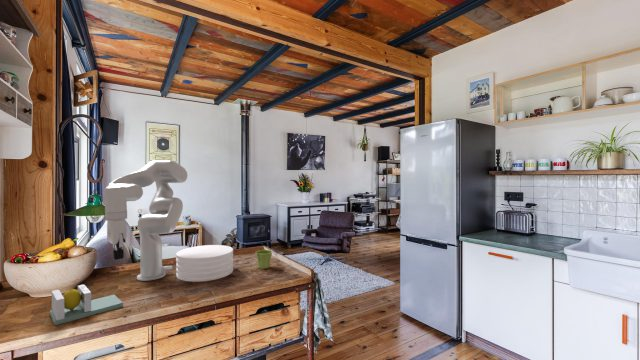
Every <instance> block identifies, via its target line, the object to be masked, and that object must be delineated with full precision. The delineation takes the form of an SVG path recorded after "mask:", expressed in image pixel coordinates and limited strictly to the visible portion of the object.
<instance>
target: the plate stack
mask: <svg viewBox="0 0 640 360" xmlns="http://www.w3.org/2000/svg"><path fill="white" fill-rule="evenodd" d="M175 255H176V258H175V261H176V262H175V264H176V265H175V266H176V268H175V270H176V273H175V274H176V275H175V277H176V279H178V280H180V281H184V282H207V281H213V280H218V279H221V278H225V277H227V276H229V275H231V274H232V273H233V271H234V247H231V246H229V245H223V244H207V245H206V244H205V245H197V246H191V247H186V248H184V249H180V250H179V251H177V252H176V254H175Z"/></svg>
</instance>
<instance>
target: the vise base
mask: <svg viewBox="0 0 640 360" xmlns="http://www.w3.org/2000/svg"><path fill="white" fill-rule="evenodd" d="M123 307H124V302H123V301H122V300H121V299H120V298H118V296H117V295H115V294H111V295H106V296H102V297H99V298H94V299H91V311H87V312H84V311H83V309H82V308H81V307H80V305H78V306H77V307H76V308H74V309H73V310H69V309H65V308H64V297H63V294H62V292H61V291H60V289H54V290H51V309H50V310H49V315H50V318H51V320H52V322H53V324H54V326H58V325H61V324H64V323H68V322H72V321H76V320H79V319H83V318H86V316H87V317H91V316H93V315H96V314H97V313H98V314H102V313H104V312H109V311H112V310H116V309H120V308H123ZM108 310H109V311H108ZM90 315H91V316H90Z"/></svg>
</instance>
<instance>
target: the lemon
mask: <svg viewBox="0 0 640 360" xmlns="http://www.w3.org/2000/svg"><path fill="white" fill-rule="evenodd" d="M62 296H63V297H64V308H65V309H69V310H73V309H74V308H76V307H77V306H78V305H79V304H80V302H81V294H80V292H79V291H78V289H75V288H70V289H68V290H66V291H65V292H64V293H63V294H62Z"/></svg>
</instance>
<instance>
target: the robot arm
mask: <svg viewBox="0 0 640 360" xmlns="http://www.w3.org/2000/svg"><path fill="white" fill-rule="evenodd" d="M187 179H188V171H187V170H186V168H184V166H182V165H181V164H179V163H177V162H176V161H173V160H170V159H169V160H168V159H165V160H163V159H161V160H159V159H157V160H155V159H154V160H152V161H149V162H148V163H147V164H145V165H143V167H142V168H140V169H139V170H137V171H134V172H131V173H128V174H126V175H123V176H120V177H118V178H116V179H114V180H113V181H111V182H110V183H109V184H108V185H107V186H106V187H105V188H104V189H103V194H104V195H103V196H104V213H105V214H104V215H105V216H104V217H105V221H106V222H107V223H106V237H107V239H106V240H107V242H108V243H110V244H112V249H113V251H112V252H113V259H114V260H115V261H117V260H121V259H124V257H125V256H124V255H125V254H124V243H127V241H128V240H127V239H128V235H127V225H126V224H127V223H126V220H127V219H128V206H127V202H136V201H138V200H141V198H142V197H143V195H144V189H143V188H146V187H149V186H152V184H153V183H155V186H156V191H155V193H154V196H153V198H152V200H151V202H150V204H149V207H148V211H149V213H146V214H144V215H141V216H140V217H139V218H138V221H137V228H138V233H139V240H140V242H139V243H140V244H139V245H140V246H139V247H140V250H139V251H140V252H139V253H140V255H139V256H140V257H139V258H140V260H139V261H140V265H139V266H140V274H138V275H136V279H137V281H143V282H144V281H145V282H146V281H147V282H150V281H155V280H159V279H161V278H164V277H165V276H166V271H171V270H173V265H165V266H164V265H163V242H162V241H163V239H162V238H161V235H159V234H171V233H174V231H175V229H176V228H177V226H178V223H179V221H180V218H181V215H182V213H183V209H184V208H183V206H184V205H183V201H182V199H181V198H179V197H173V196H174V190H173V189H172V187H171V186H170V185H169V184H181V183H185V182H186V181H187ZM121 212H122V213H121Z"/></svg>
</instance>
